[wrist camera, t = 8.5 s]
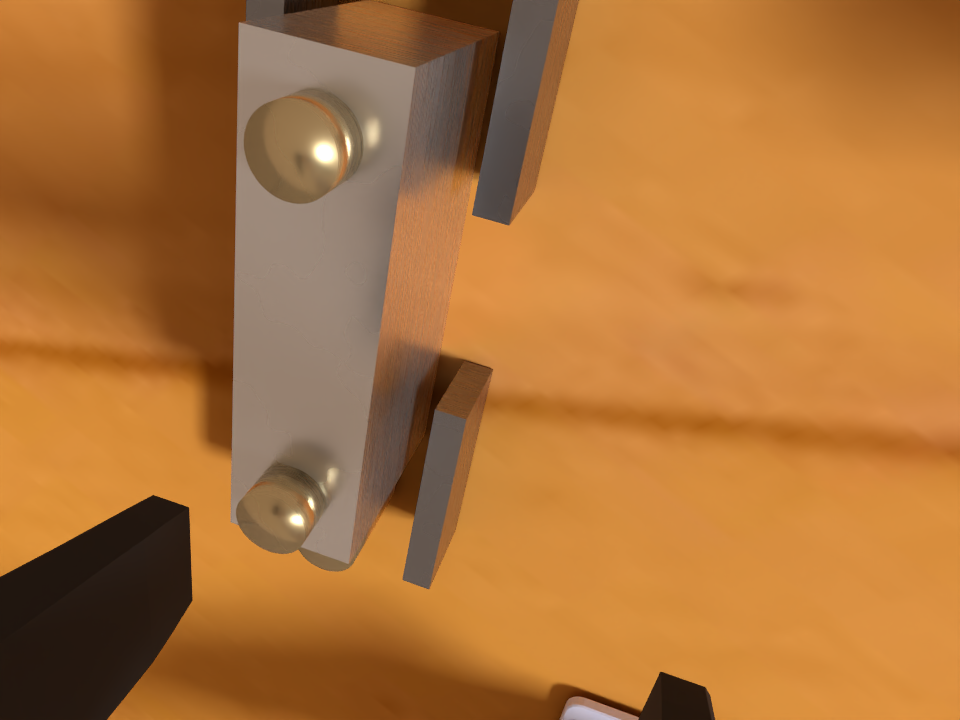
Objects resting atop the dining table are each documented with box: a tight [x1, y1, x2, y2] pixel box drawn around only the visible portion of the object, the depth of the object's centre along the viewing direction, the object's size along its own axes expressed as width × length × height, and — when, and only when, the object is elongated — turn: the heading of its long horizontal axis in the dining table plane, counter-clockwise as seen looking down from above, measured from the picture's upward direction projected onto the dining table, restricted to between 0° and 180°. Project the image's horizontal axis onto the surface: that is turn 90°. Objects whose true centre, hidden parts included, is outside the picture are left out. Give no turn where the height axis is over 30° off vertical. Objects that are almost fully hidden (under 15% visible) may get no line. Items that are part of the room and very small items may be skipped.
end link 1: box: [246, 0, 579, 225], centre depth 15 cm, size 6×6×3 cm
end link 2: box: [299, 361, 493, 589], centre depth 21 cm, size 6×6×3 cm
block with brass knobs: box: [231, 0, 500, 564], centre depth 17 cm, size 11×3×6 cm, turn 169°
